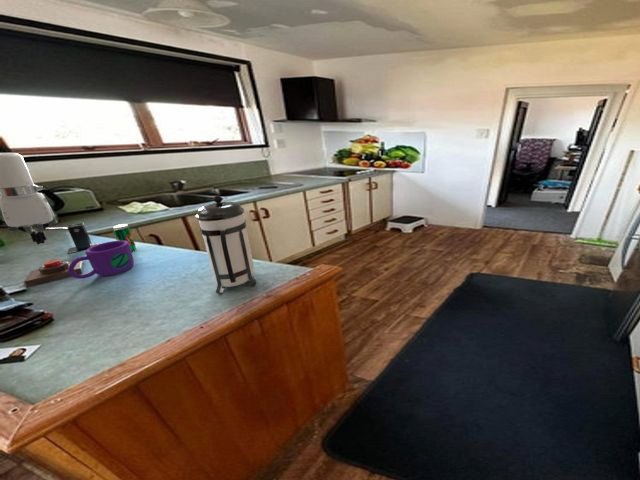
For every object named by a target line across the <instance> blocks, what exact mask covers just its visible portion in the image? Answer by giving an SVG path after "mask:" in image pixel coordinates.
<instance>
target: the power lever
mask: <svg viewBox="0 0 640 480" xmlns="http://www.w3.org/2000/svg"><path fill="white" fill-rule="evenodd" d="M47 231H48V232H50V231H51V232H52V231H53V232H54V231H69V230H68V227H47V228H46V229H45V230H44V232H47Z"/></svg>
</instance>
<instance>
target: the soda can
mask: <svg viewBox="0 0 640 480" xmlns="http://www.w3.org/2000/svg"><path fill="white" fill-rule="evenodd" d="M112 228H113V229H112V232H113V235H114V237H115V241H127V242H128V243H129V246H130V249H131V252H132V253H134V252H136V251H135V250H137V245H136V243H135V240H134V237H133V235H132V231H131V228H130V226H128V224H126V223H122V224H118V225H117V224H116V225H114V226H113V227H112ZM133 251H134V252H133Z"/></svg>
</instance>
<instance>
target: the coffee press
mask: <svg viewBox="0 0 640 480" xmlns="http://www.w3.org/2000/svg"><path fill="white" fill-rule="evenodd" d="M244 213H245V209H244V207H243V206H242V205H241V204H240V203H238V202H234V201H223V197H222V196H221V195H215V196H214V197H213V203H208V204H205V205H204V206H202V207H200V208H199V209H198V211H197V214H196V215H195V218H196V220H197V221H198V222H199V230H200V234H201V235H202V238H203V242H204V246H205V250H206V253H207V258H208V261H209V262H208V263H209V265H210V270H211V273H212V277H213V280H214V283H215V284H216V285H217V286H216V290H215V294H217V295H223V293H224V291H225V289H226V288H232V287H236V286H240V285H243V284H245V283H246V284H247V285H249V286H250V287H253V286H255V285H257V282H256V280H255V279H254V278H253V277H254V276H255V273H256V271H255V267H254V266H255V265H254V260H253V256H252V250H251V245H250V240H249V234H248V230H247V221H246V219H245V215H244Z"/></svg>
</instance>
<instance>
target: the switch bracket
mask: <svg viewBox="0 0 640 480" xmlns="http://www.w3.org/2000/svg"><path fill="white" fill-rule="evenodd" d="M67 228H68V230H67V231H68V232H69V234H70V237H71V240H72V242H73V244H74V246H73V247H69V248H68V251H67V255H71V254H75V253H80V252H85V251H86V250H87V249H88V248H90V247H93V246H95V245H98V244H102V242H101V241H98V242H92V241H91V238H90V235H89V233H88V230H87V227H86V226H85V223H84V222H79V223H73V224H68V226H67Z"/></svg>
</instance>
